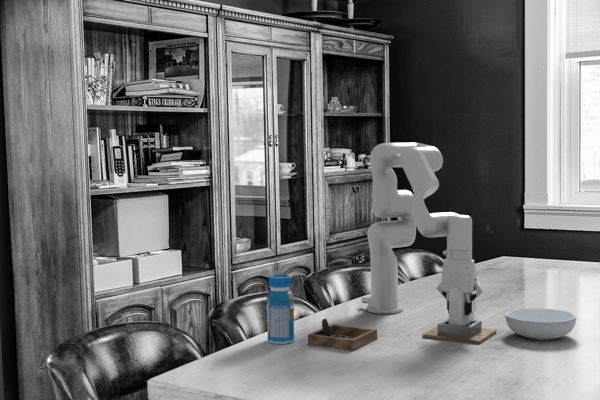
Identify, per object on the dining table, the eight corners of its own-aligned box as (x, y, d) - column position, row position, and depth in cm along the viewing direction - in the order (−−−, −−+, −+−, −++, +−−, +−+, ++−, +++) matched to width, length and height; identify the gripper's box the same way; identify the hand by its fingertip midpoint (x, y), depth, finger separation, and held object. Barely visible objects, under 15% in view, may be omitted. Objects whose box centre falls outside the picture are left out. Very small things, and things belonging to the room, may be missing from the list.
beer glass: (479, 322, 271) (479, 277, 270) (457, 321, 272) (457, 276, 271) (479, 317, 278) (479, 273, 277) (458, 316, 279) (458, 273, 278)
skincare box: (457, 322, 257) (457, 284, 256) (470, 324, 255) (470, 286, 254) (448, 326, 253) (447, 287, 252) (461, 328, 250) (461, 289, 249)
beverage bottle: (274, 346, 244) (273, 279, 242) (262, 340, 252) (261, 275, 250) (299, 342, 248) (298, 276, 246) (287, 336, 255) (286, 272, 254)
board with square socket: (422, 337, 252) (422, 324, 251) (441, 326, 265) (441, 314, 265) (479, 344, 242) (479, 331, 242) (496, 332, 256) (496, 320, 256)
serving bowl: (576, 330, 257) (576, 309, 257) (575, 347, 238) (576, 323, 237) (508, 326, 264) (508, 305, 264) (501, 342, 244) (502, 319, 244)
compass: (351, 343, 247) (351, 319, 246) (325, 345, 245) (325, 320, 244) (344, 337, 254) (344, 313, 254) (319, 338, 253) (319, 315, 252)
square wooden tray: (307, 344, 245) (307, 334, 245) (332, 333, 258) (332, 324, 258) (353, 350, 237) (353, 340, 237) (377, 339, 250) (377, 329, 250)
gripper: (428, 255, 253) (429, 313, 254) (482, 258, 244) (482, 319, 246) (438, 251, 259) (438, 308, 261) (490, 255, 251) (490, 314, 252)
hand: (459, 313), depth 253 cm, fingers closed on skincare box, 4 cm apart
